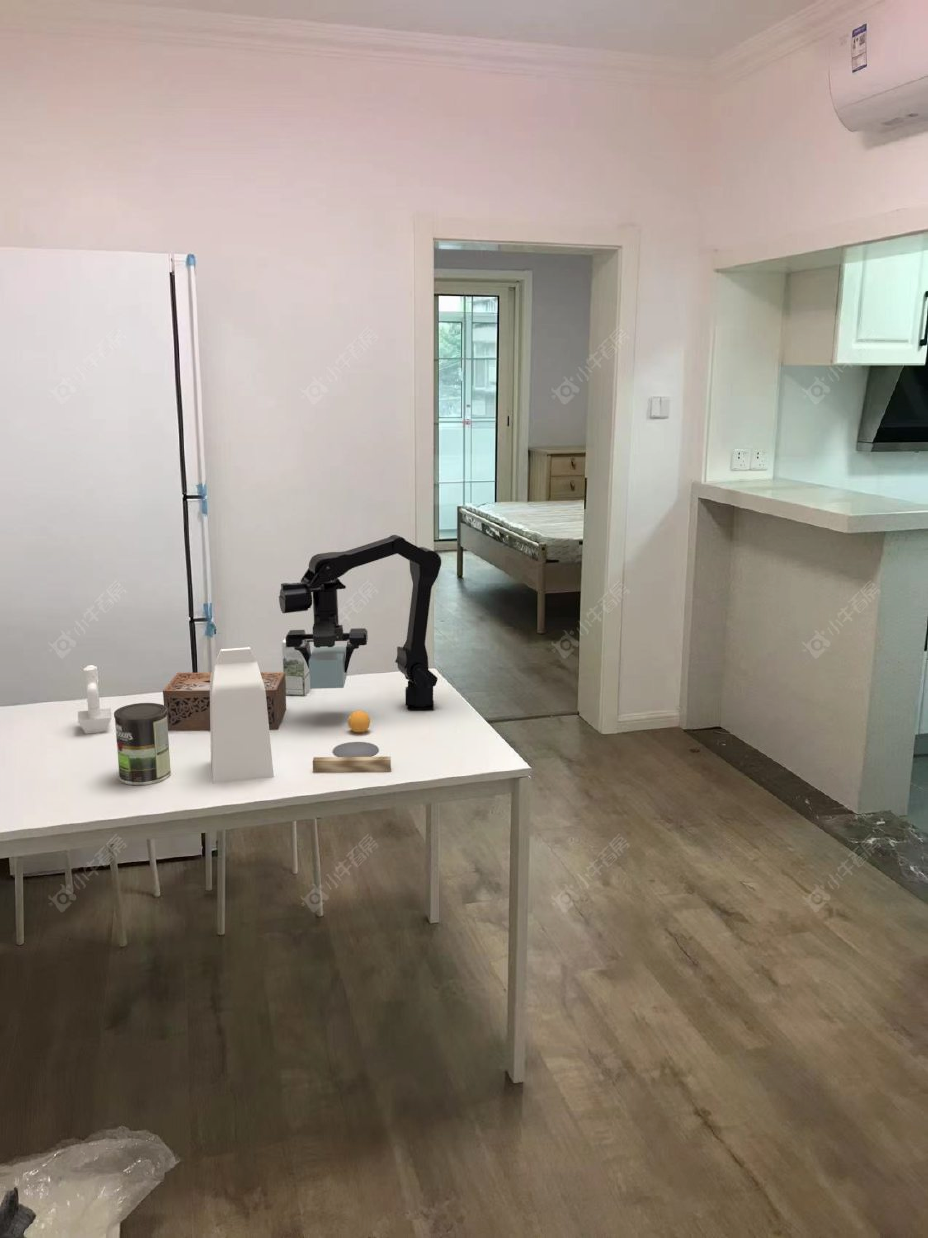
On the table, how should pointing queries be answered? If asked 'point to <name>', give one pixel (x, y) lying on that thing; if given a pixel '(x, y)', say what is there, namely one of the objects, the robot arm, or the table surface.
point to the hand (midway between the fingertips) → (328, 672)
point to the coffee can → (142, 743)
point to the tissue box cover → (192, 700)
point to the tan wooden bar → (351, 764)
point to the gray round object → (355, 749)
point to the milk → (238, 718)
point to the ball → (359, 721)
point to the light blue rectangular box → (327, 667)
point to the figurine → (93, 705)
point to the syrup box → (295, 671)
